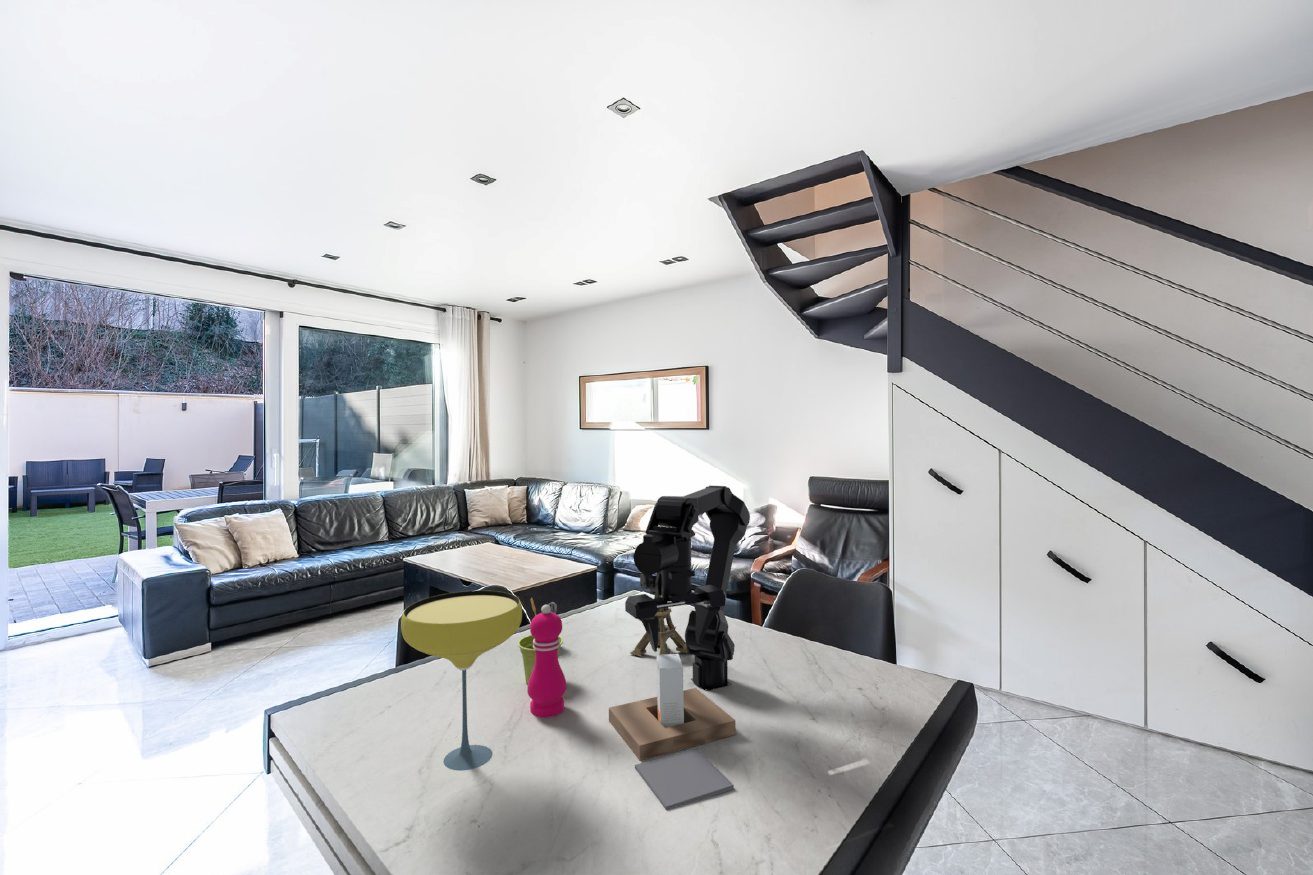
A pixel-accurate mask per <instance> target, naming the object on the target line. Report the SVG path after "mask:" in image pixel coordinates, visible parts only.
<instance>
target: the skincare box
mask: <svg viewBox="0 0 1313 875" xmlns="http://www.w3.org/2000/svg"><path fill="white" fill-rule="evenodd" d="M656 682H657V683H656V685H657V686H656V688H657V689H656V690H657V691H656V692H657V693H656V697H657V701H658V719H657V720H658V721H659V722H660V723H661V724H662V725H663V726H664V727H665V728H668V727H672V726H676V725H680V724H683V723H684V694H683V691H684V666H683V663H682V659H681V657H680V654H679V653H676V654H675V653H672V654H671V653H670V654H666V655H659V654H657V655H656Z"/></svg>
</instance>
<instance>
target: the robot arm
mask: <svg viewBox="0 0 1313 875" xmlns="http://www.w3.org/2000/svg"><path fill="white" fill-rule="evenodd" d="M703 514H705V515H706V516H707V518H708V519H709V529H710V531H711V535H712V537H713V544H712V548H711V554H710V557H709V558H710V559H709V564H708V567H707V573H706V578H705V583H704V585H700V586H699V585H698V586H696V587H695V588H694V590H693V589H692V586H693V585H692V584H693V583H692V579H693V578H692V577H695V576H696V570H694V569H692V537H693V538H694V537H695V536H696V532H695V530H693V527H694V525H696V523H698V522H699V521H700V520H699V517H700V516H701V515H703ZM750 521H751V515H750V511H749V509H748V506H747V505H746V503H745V501H743V499H741V498H740V497H738V496H737V495H735V494H734V493H733V492H732V489H730V487H727V486H725V485H708V486H705V488H702V489H699V490H697V491H694V492H691V493H688V494H686V495H683V496H681V495H680V496H679V495H661V496H660V497H658V499H657V501H656V503H655V504H654V507H653V509H652V512H651V515H650V517H649V521H648V523H647V527H646V530H645V534H643V536H642V542H641V543H639V544H638V545H637V546H636V548H635V549H634V553H633V555H632V556H633V558H632V559H633V562H634V565H635V568H636V569H637V570H638V571H639V572H640V574H639V585H640V589H641V590H642V591H644V590H648V591H649V595H655V594H656V595H661V598H655V599H654V598H652V597H650V596H649V595H648V594H646V593H642V594H635V595H629V596H628V597H627V599H626V600H625V602H624V609H625V612H626V613H627V614H628V615H631V617H633V618H634V619H635V620H638V621H640V622H641V623H642V626H643V627H644V629H645V633H646V632H647V635H648V638H649V641H650V642H649V645H651V646H650V647H651V649H652V651H653V652H655V653H656V652H658V648H659V646H658V623H659V618H657V617H656V616H655V614H656V613H657V609H661V608H667V607H668V608H673V607H680V606H686V605H687V606H688V605H692V604H693V607H694V610H691V611H690V613H689V616H688V622H687V625H686V628H685V632H684V641H685V642H686V646H687V651H688V652H687V655H688V656H690V655H691V656H693V657H694V658H693V659H694V660H693V662H692V678H690V680H691V681H692V683H693V684H694V685H696V686H697V687H698V688H701V689H702V691H705V692H709V691H712V690H717V689H721V688H726V687H730V686H732V683H731V682H729V676H728V674H729V673H728V672H729V670H728V668H729V667H728V661H732V660H733V659H734V655H735V654H734V653H735V643H734V641H733V640H732V638H731V637H730V635H729V624H728V620H727V618H726V615H725V612H724V610H725V609H724V608H725V606H726V605H727V593H728V587H729V582H730V576H731V572H732V571H731V570H732V566H733V559H734V555H735V550H736V545H737V544H739V542H740V541H741V540H742V539H743V538H744V537H745V535H746V531H747V528H748V525H749V524H750ZM657 573H658V574H657ZM655 574H656V575H655Z"/></svg>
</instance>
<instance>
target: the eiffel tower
mask: <svg viewBox="0 0 1313 875" xmlns="http://www.w3.org/2000/svg"><path fill="white" fill-rule="evenodd" d="M657 574H658V573H656V575H657ZM655 598H661V595H656V594H654V598H653V599H655ZM671 613H672V607H667V608H661V609H657V613H656V614H655V616H656V617H657V618H659V623H658V647H659V654H658V655H666V654H671V652H670V650H669V647H668V644H667V641H668V639H671V640H672V641H673V643H674V644H675V645H676V647H675V651H678V652H680V653H684V654H685V653H688V651H687V646H686V641H685V639H684V638H683V636H681V635H680V634H679V633H678V631H677V630H676V629H677V626H675V624H674V623H673V621H672V618H671ZM665 621H666V624H665ZM648 645H650V641H649V638H648V635H647V632H646V631H645V633H644V635H643V636H642V638H641V639H640V640H639V642H638V643H637V644H636V646H635V648H634V650H632V651H631V652H629V654H630V655H634V656H637V657H641V656H642V655H644V654H646V653H647V649H646V648H647V646H648Z"/></svg>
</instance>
